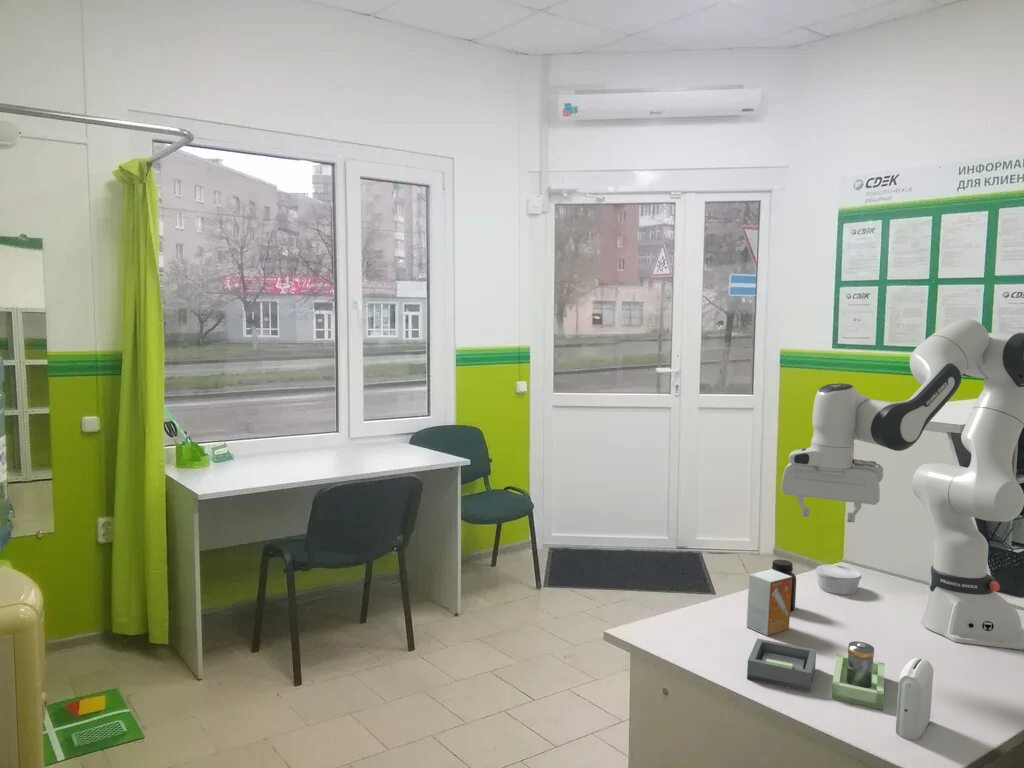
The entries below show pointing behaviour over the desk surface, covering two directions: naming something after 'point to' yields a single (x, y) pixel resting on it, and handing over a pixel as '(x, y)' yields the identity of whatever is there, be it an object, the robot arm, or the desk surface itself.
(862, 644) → the grey cell
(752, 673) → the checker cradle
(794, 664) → the pan
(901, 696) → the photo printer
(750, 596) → the small box
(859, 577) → the ramekin
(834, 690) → the green trough
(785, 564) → the supplement bottle
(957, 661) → the desk surface
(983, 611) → the robot arm
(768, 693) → the desk surface
